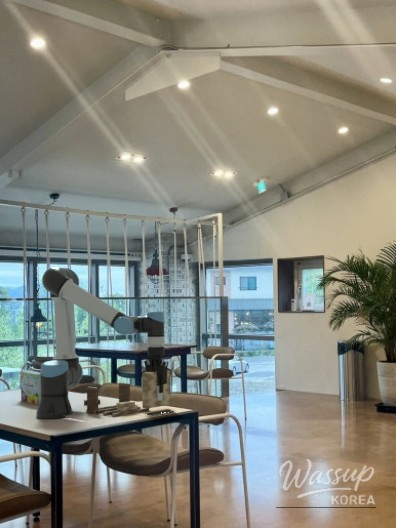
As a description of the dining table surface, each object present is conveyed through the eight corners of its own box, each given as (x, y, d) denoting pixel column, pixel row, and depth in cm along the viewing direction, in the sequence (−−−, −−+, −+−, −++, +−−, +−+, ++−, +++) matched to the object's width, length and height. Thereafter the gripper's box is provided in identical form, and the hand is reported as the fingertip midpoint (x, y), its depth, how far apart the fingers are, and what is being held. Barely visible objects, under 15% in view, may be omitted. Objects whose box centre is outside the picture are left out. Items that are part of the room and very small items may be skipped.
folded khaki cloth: (147, 408, 282) (147, 373, 283) (142, 407, 284) (142, 372, 285) (170, 404, 292) (170, 370, 293) (165, 403, 294) (165, 370, 295)
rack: (111, 419, 271) (111, 390, 272) (83, 415, 284) (83, 387, 285) (151, 412, 287) (150, 385, 288) (122, 408, 300) (122, 382, 301)
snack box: (19, 400, 333) (20, 370, 334) (30, 399, 337) (30, 370, 338) (36, 405, 316) (36, 373, 317) (47, 404, 320) (47, 373, 321)
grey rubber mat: (153, 416, 279) (153, 415, 279) (136, 413, 287) (136, 412, 287) (176, 411, 289) (176, 410, 289) (159, 409, 297) (159, 408, 297)
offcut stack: (122, 414, 277) (122, 404, 277) (115, 413, 280) (115, 403, 280) (138, 412, 284) (138, 401, 284) (131, 411, 287) (131, 400, 287)
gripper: (175, 346, 287) (175, 400, 285) (149, 345, 298) (150, 397, 297) (162, 347, 282) (163, 402, 280) (137, 346, 293) (138, 399, 291)
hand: (156, 399), depth 288 cm, fingers closed on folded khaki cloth, 3 cm apart
